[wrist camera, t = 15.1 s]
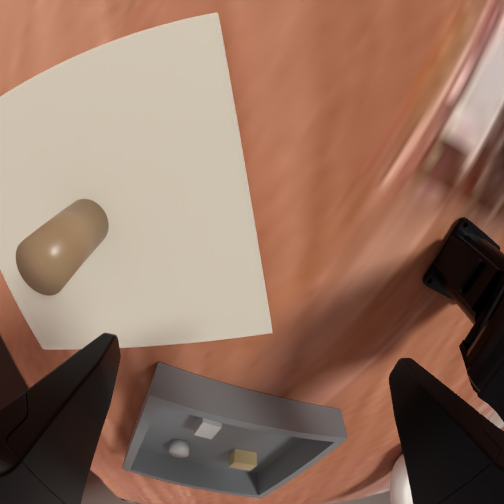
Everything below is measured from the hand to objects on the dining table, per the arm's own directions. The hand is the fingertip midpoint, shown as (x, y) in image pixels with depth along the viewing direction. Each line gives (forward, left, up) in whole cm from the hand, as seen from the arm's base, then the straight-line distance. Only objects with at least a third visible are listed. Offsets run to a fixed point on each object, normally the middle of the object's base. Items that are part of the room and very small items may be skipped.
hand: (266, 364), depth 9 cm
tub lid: (+10, +4, -13) cm, 17 cm away
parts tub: (-8, +26, -13) cm, 30 cm away
